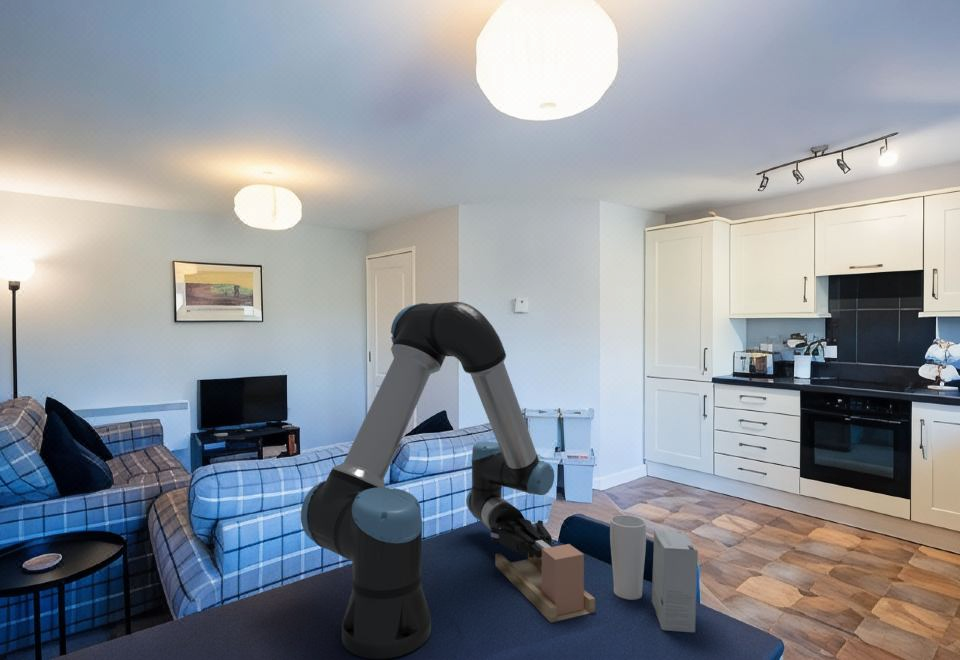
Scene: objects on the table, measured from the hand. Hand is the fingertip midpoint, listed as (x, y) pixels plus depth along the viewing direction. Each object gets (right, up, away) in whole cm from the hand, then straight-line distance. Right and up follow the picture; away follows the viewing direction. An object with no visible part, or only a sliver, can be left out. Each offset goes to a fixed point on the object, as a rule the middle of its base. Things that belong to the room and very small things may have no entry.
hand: (555, 560), depth 98 cm
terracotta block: (+1, -7, -3) cm, 8 cm away
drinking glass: (+15, -9, +3) cm, 17 cm away
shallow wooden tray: (-2, -9, +5) cm, 10 cm away
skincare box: (+21, -9, -5) cm, 23 cm away
